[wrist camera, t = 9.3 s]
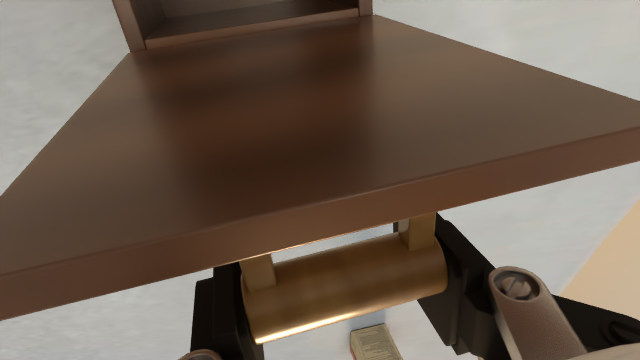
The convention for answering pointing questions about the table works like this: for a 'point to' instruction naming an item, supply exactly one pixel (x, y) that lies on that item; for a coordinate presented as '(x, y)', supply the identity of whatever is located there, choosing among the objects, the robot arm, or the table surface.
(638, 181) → the table surface
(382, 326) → the small box
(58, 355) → the table surface
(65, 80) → the table surface
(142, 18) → the chest
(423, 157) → the lid
